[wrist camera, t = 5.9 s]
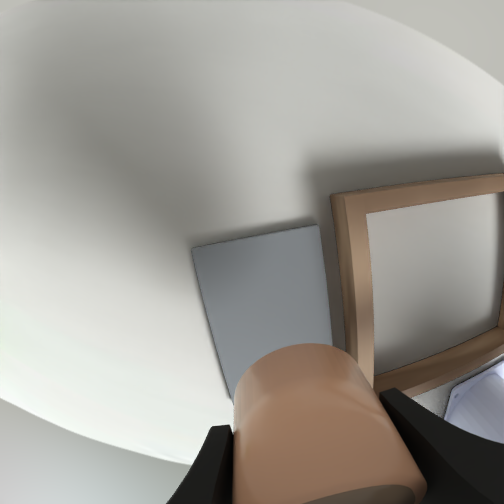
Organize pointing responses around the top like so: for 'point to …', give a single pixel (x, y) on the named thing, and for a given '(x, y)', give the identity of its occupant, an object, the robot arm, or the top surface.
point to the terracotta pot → (317, 434)
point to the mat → (263, 295)
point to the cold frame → (361, 294)
